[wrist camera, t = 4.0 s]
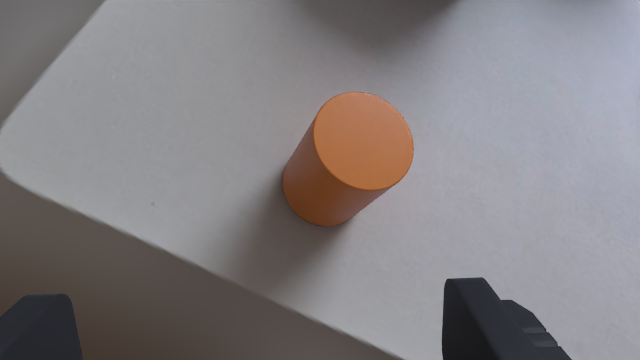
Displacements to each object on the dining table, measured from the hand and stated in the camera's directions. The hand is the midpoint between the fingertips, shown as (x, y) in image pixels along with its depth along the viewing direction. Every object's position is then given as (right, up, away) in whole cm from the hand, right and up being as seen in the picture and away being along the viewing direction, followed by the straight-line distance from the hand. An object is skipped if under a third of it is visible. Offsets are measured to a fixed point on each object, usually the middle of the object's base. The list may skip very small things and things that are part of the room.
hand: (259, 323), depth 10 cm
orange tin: (+2, +3, +19) cm, 19 cm away
